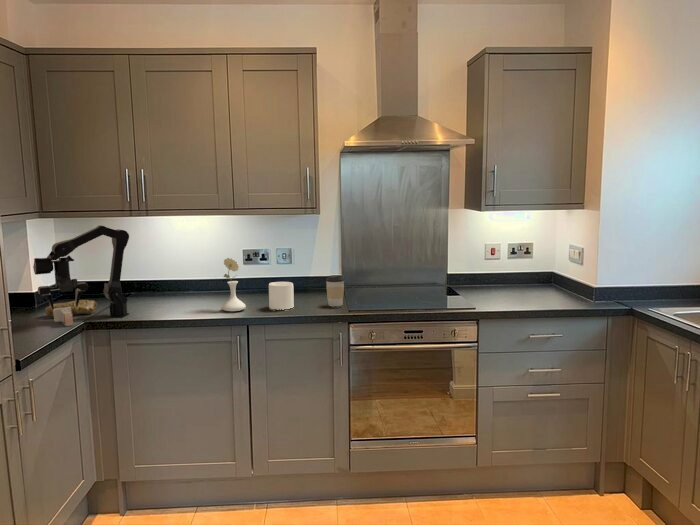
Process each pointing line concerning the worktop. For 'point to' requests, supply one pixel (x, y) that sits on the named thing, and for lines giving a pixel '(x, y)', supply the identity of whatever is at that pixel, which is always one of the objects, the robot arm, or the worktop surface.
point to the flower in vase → (232, 289)
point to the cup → (281, 295)
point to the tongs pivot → (57, 313)
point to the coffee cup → (335, 290)
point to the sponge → (82, 307)
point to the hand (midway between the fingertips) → (64, 308)
